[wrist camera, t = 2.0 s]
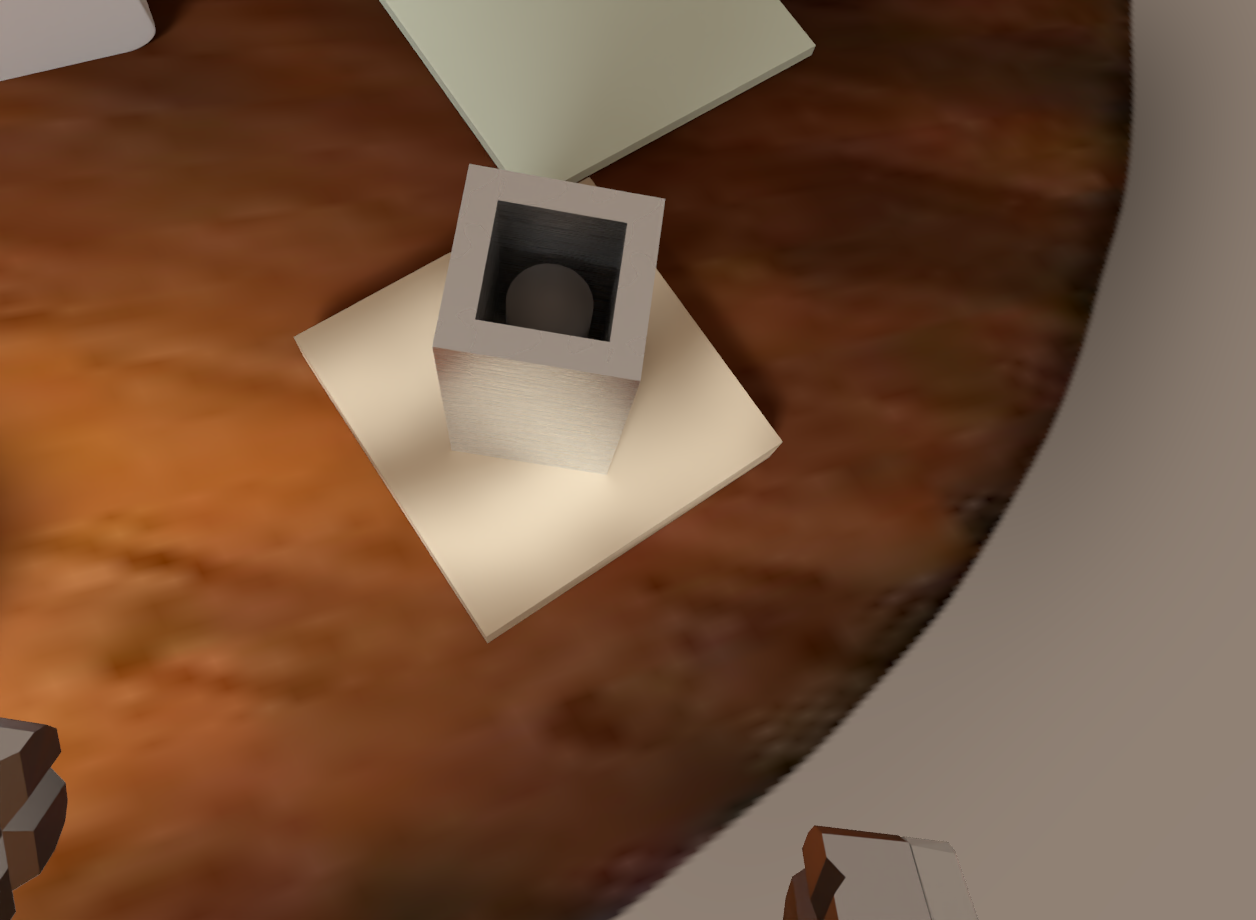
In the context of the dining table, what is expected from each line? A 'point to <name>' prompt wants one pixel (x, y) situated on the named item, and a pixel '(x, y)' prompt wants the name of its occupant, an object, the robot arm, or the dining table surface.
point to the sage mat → (592, 70)
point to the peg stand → (520, 491)
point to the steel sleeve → (533, 359)
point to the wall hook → (68, 32)
